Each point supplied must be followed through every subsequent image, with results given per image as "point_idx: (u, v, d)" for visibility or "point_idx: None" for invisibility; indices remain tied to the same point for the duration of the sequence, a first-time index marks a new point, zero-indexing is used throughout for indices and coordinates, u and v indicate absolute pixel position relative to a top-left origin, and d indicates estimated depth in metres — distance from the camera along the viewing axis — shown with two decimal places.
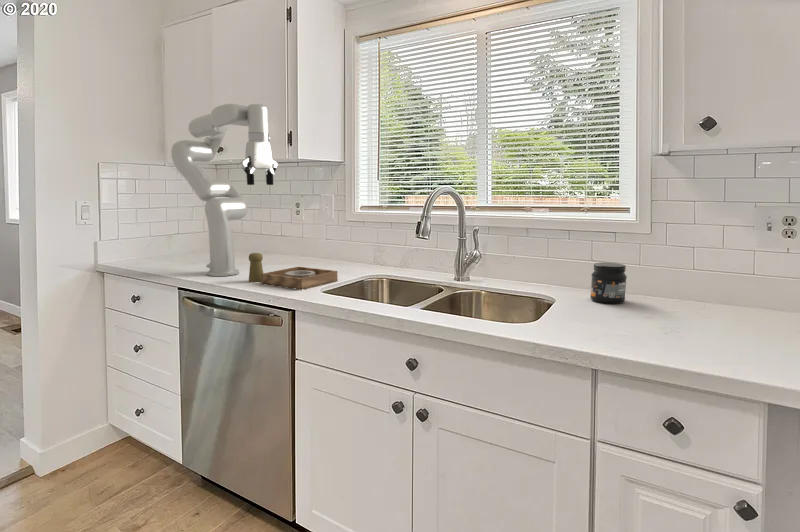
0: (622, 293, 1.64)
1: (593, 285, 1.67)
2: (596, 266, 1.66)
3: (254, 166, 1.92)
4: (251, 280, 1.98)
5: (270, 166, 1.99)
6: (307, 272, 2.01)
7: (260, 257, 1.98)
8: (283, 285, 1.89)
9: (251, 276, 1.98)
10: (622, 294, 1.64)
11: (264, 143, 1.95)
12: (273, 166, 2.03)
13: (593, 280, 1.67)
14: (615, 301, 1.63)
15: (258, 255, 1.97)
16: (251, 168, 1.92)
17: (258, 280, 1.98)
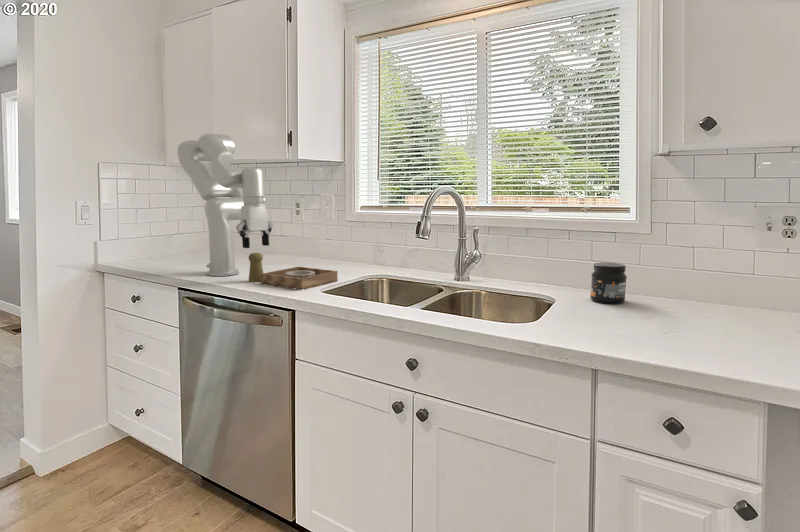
0: (622, 293, 1.64)
1: (593, 285, 1.67)
2: (596, 266, 1.66)
3: (249, 229, 1.92)
4: (251, 280, 1.98)
5: (265, 228, 1.99)
6: (307, 272, 2.01)
7: (260, 257, 1.98)
8: (283, 285, 1.89)
9: (251, 276, 1.98)
10: (622, 294, 1.64)
11: (259, 206, 1.95)
12: (269, 227, 2.02)
13: (593, 280, 1.67)
14: (615, 301, 1.63)
15: (258, 255, 1.97)
16: (246, 232, 1.92)
17: (258, 280, 1.98)
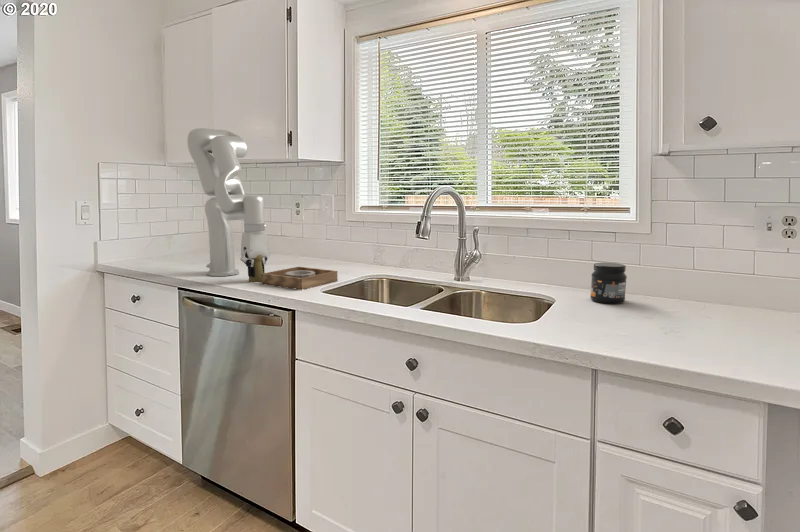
0: (622, 293, 1.64)
1: (593, 285, 1.67)
2: (596, 266, 1.66)
3: (250, 257, 1.94)
4: (251, 280, 1.98)
5: (266, 254, 2.01)
6: (307, 272, 2.01)
7: (260, 257, 1.98)
8: (283, 285, 1.89)
9: None
10: (622, 294, 1.64)
11: (260, 233, 1.96)
12: (265, 256, 2.03)
13: (593, 280, 1.67)
14: (615, 301, 1.63)
15: (258, 255, 1.97)
16: None
17: (258, 280, 1.98)
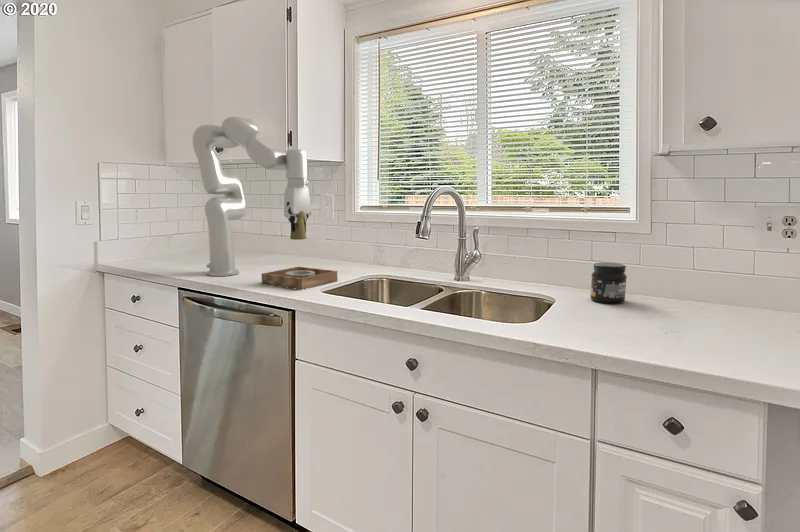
0: (622, 293, 1.64)
1: (593, 285, 1.67)
2: (596, 266, 1.66)
3: (293, 212, 1.89)
4: (293, 237, 1.92)
5: (308, 211, 1.95)
6: (307, 272, 2.01)
7: (302, 213, 1.92)
8: (283, 285, 1.89)
9: (293, 233, 1.92)
10: (622, 294, 1.64)
11: (303, 188, 1.91)
12: (306, 214, 1.98)
13: (593, 280, 1.67)
14: (615, 301, 1.63)
15: (300, 211, 1.92)
16: (294, 217, 1.91)
17: (300, 237, 1.92)
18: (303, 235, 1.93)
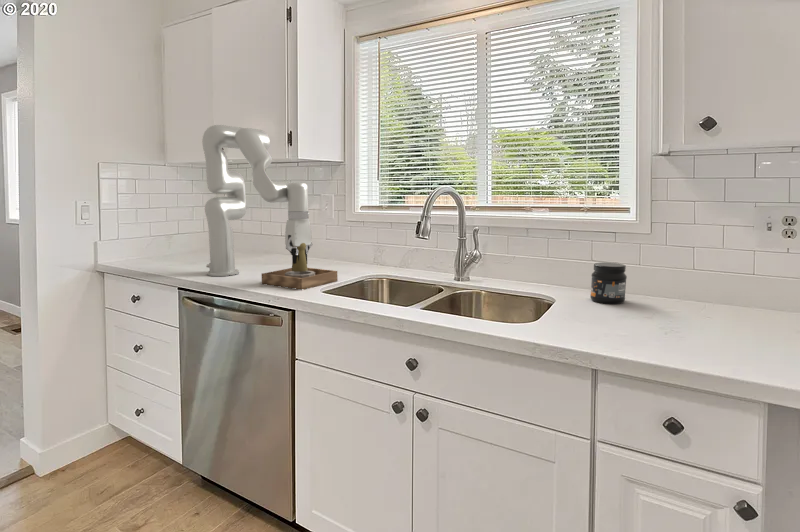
0: (622, 293, 1.64)
1: (593, 285, 1.67)
2: (596, 266, 1.66)
3: (294, 245, 1.91)
4: (295, 269, 1.94)
5: (309, 242, 1.97)
6: (307, 272, 2.01)
7: (304, 245, 1.94)
8: (283, 285, 1.89)
9: (294, 265, 1.94)
10: (622, 294, 1.64)
11: (304, 221, 1.93)
12: (308, 245, 1.99)
13: (593, 280, 1.67)
14: (615, 301, 1.63)
15: (302, 243, 1.94)
16: (295, 250, 1.93)
17: (302, 269, 1.94)
18: (304, 267, 1.95)
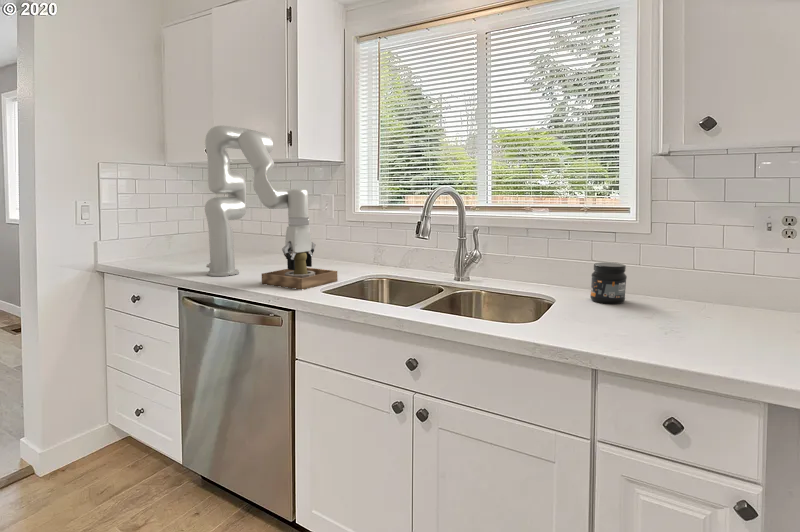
0: (622, 293, 1.64)
1: (593, 285, 1.67)
2: (596, 266, 1.66)
3: (295, 251, 1.91)
4: None
5: (309, 248, 1.98)
6: (307, 272, 2.01)
7: (305, 256, 1.96)
8: (283, 285, 1.89)
9: None
10: (622, 294, 1.64)
11: (304, 227, 1.94)
12: (311, 247, 2.01)
13: (593, 280, 1.67)
14: (615, 301, 1.63)
15: (303, 254, 1.95)
16: (292, 254, 1.91)
17: None
18: None
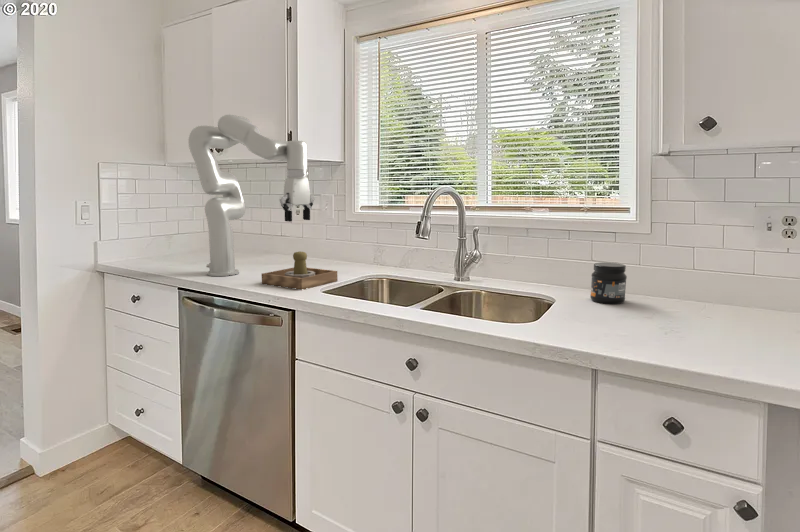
0: (622, 293, 1.64)
1: (593, 285, 1.67)
2: (596, 266, 1.66)
3: (292, 203, 1.91)
4: None
5: (307, 202, 1.98)
6: (307, 272, 2.01)
7: (305, 256, 1.96)
8: (283, 285, 1.89)
9: None
10: (622, 294, 1.64)
11: (303, 179, 1.93)
12: (310, 201, 2.01)
13: (593, 280, 1.67)
14: (615, 301, 1.63)
15: (303, 254, 1.95)
16: (289, 205, 1.91)
17: None
18: None
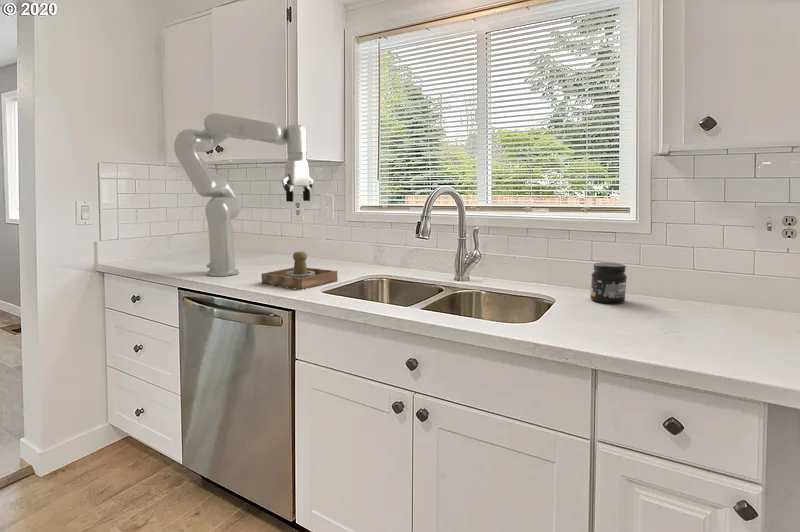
0: (622, 293, 1.64)
1: (593, 285, 1.67)
2: (596, 266, 1.66)
3: (293, 184, 2.02)
4: None
5: (307, 183, 2.08)
6: (307, 272, 2.01)
7: (305, 256, 1.96)
8: (283, 285, 1.89)
9: None
10: (622, 294, 1.64)
11: (302, 162, 2.04)
12: (310, 183, 2.12)
13: (593, 280, 1.67)
14: (615, 301, 1.63)
15: (303, 254, 1.95)
16: (290, 186, 2.02)
17: None
18: None
